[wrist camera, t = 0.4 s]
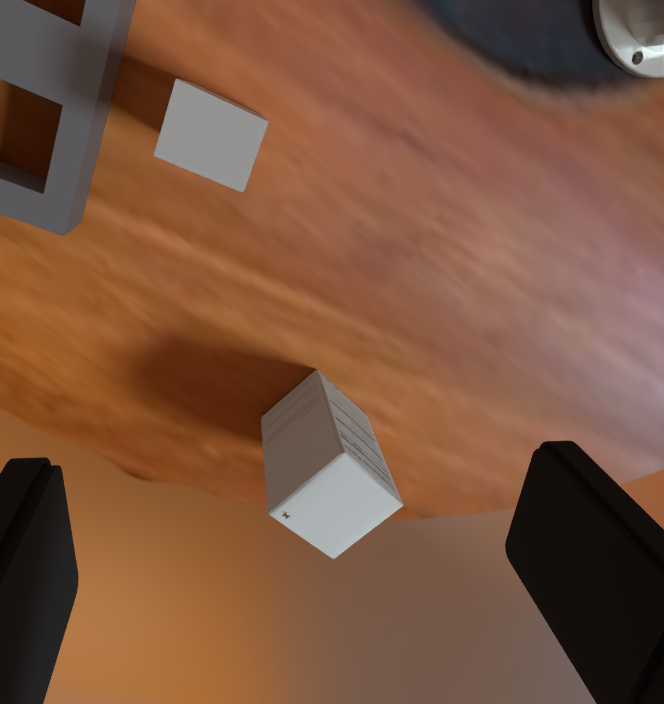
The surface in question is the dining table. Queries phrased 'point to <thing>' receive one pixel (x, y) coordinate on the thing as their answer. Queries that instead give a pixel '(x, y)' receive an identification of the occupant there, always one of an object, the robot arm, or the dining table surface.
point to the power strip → (61, 101)
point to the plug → (210, 135)
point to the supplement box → (325, 467)
